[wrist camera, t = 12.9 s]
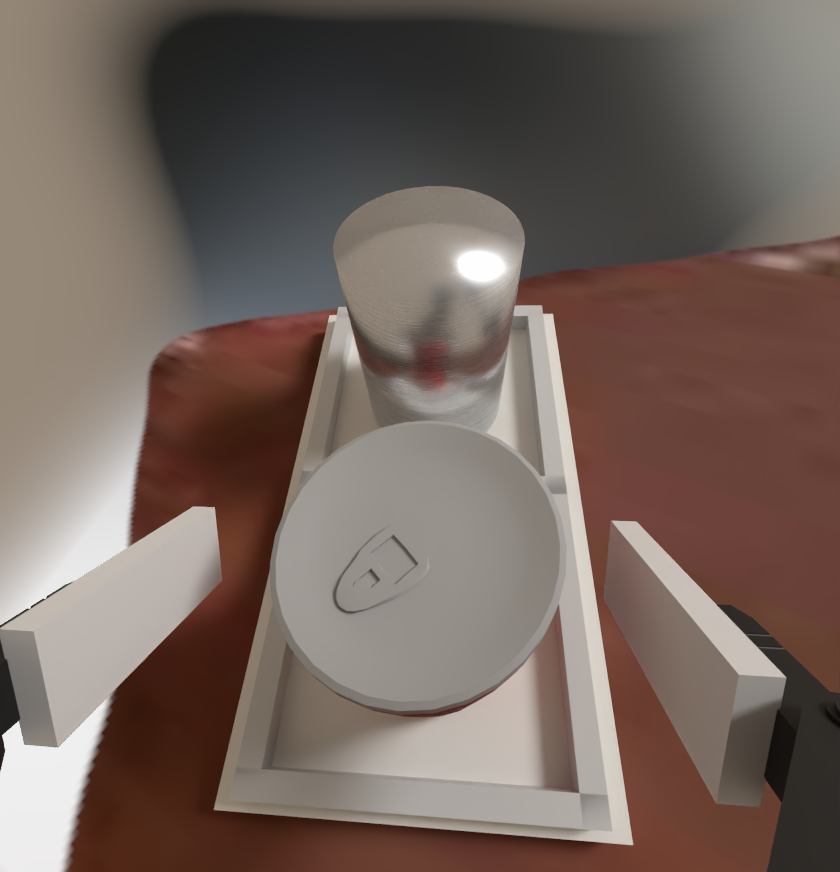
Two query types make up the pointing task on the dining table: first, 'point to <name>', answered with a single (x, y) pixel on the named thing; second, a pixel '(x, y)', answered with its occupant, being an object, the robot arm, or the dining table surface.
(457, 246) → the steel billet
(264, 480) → the dining table surface
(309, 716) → the divided white tray
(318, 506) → the canned food
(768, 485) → the dining table surface
